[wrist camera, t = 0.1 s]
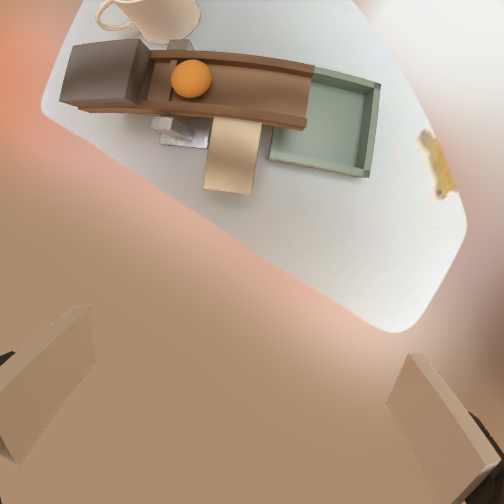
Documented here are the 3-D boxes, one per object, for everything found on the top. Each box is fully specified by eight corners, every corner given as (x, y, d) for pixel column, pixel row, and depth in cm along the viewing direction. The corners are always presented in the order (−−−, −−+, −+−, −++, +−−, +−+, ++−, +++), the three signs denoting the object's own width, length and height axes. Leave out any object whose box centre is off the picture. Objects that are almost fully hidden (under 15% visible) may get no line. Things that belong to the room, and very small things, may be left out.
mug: (123, 63, 33) (80, 31, 21) (116, 18, 31) (77, -18, 20) (206, 32, 32) (188, -15, 20) (193, -11, 30) (174, -60, 19)
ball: (180, 66, 25) (170, 53, 21) (217, 68, 25) (211, 55, 21) (173, 100, 26) (162, 91, 22) (210, 103, 26) (204, 93, 22)
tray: (282, 71, 33) (284, 60, 30) (369, 91, 34) (380, 84, 30) (268, 159, 36) (269, 157, 32) (358, 177, 36) (369, 177, 33)
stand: (176, 63, 33) (152, 34, 24) (221, 66, 33) (210, 34, 24) (160, 144, 36) (130, 135, 26) (207, 148, 36) (190, 140, 26)
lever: (102, 60, 26) (74, 42, 20) (310, 72, 26) (322, 49, 20) (81, 175, 29) (48, 177, 23) (290, 201, 29) (299, 207, 23)
